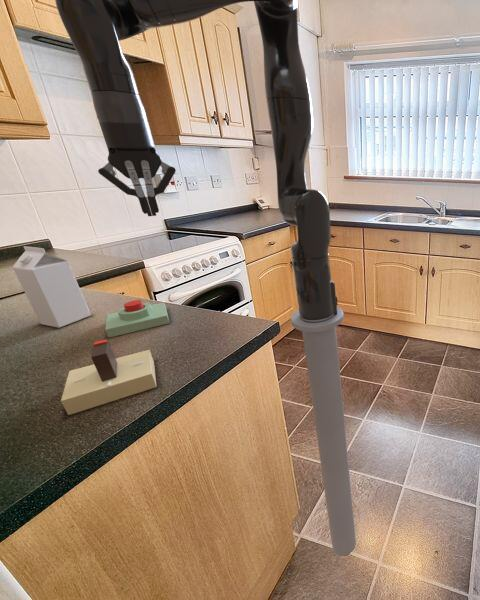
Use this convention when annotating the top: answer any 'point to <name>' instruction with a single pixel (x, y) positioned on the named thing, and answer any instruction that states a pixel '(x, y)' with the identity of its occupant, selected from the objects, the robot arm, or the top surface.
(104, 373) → the brown rectangular block
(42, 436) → the top surface
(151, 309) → the button block
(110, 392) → the panel
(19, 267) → the milk carton
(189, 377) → the top surface
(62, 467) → the top surface
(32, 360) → the top surface
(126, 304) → the button
